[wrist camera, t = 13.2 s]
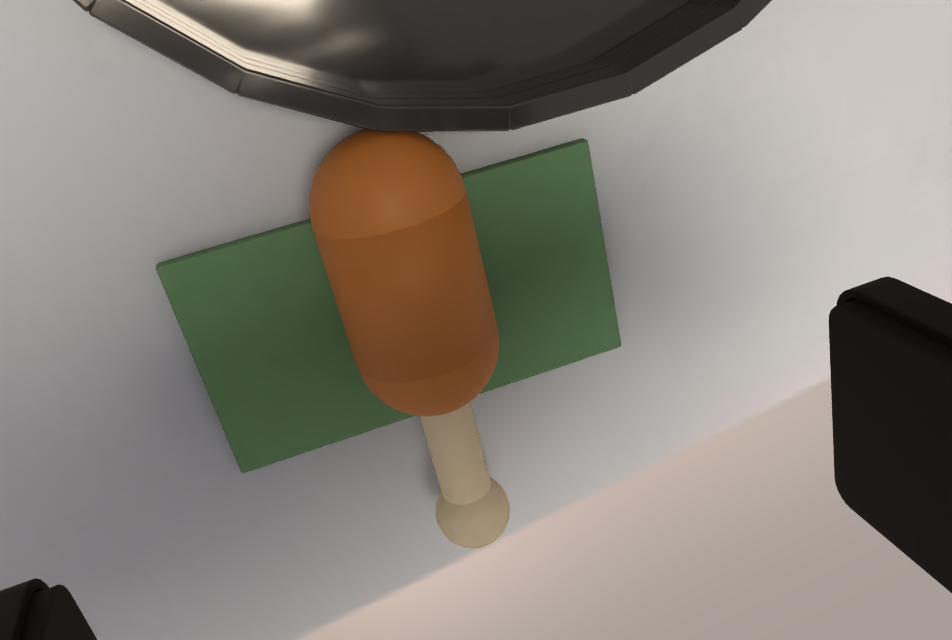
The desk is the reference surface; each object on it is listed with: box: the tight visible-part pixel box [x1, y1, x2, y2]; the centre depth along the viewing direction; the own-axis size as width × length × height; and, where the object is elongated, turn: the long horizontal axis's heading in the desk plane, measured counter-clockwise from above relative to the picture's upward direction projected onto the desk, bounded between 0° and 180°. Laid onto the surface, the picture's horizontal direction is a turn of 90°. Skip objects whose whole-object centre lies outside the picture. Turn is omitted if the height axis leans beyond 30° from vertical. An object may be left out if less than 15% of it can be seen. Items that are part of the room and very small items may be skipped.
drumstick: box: [309, 129, 510, 548], centre depth 19 cm, size 10×3×3 cm, turn 13°
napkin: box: [156, 139, 621, 473], centre depth 20 cm, size 10×6×1 cm, turn 103°
